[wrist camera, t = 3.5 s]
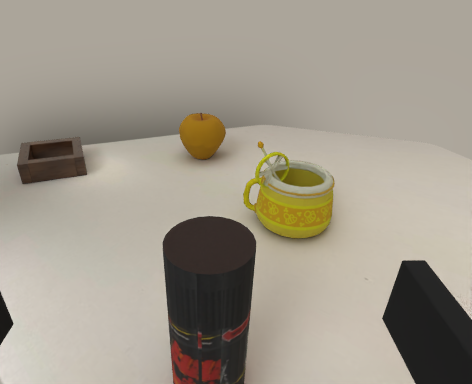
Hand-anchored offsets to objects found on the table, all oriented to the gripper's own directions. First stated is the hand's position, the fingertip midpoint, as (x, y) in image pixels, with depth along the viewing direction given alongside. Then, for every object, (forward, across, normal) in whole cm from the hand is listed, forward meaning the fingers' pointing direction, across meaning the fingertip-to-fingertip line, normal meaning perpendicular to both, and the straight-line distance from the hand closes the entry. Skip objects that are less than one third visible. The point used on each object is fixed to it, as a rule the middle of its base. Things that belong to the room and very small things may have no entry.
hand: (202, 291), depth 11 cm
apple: (+57, -2, -20) cm, 60 cm away
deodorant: (+9, 0, -20) cm, 22 cm away
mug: (+34, +11, -20) cm, 41 cm away
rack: (+50, -29, -20) cm, 61 cm away
